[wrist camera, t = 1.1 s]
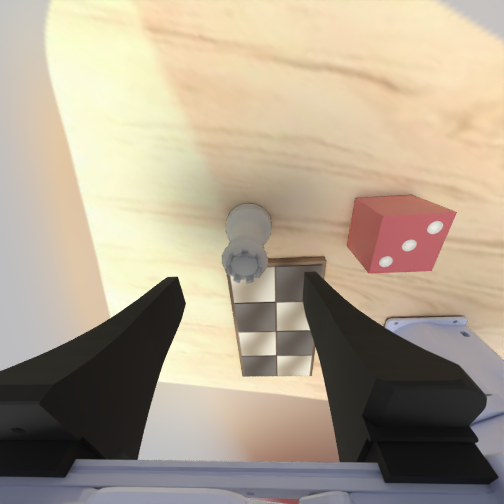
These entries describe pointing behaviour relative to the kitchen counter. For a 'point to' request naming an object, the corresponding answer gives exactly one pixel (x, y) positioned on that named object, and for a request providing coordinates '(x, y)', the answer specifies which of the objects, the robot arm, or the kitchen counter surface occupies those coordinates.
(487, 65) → the kitchen counter surface
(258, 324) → the game board
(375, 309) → the kitchen counter surface
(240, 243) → the rook chess piece
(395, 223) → the die
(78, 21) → the kitchen counter surface
